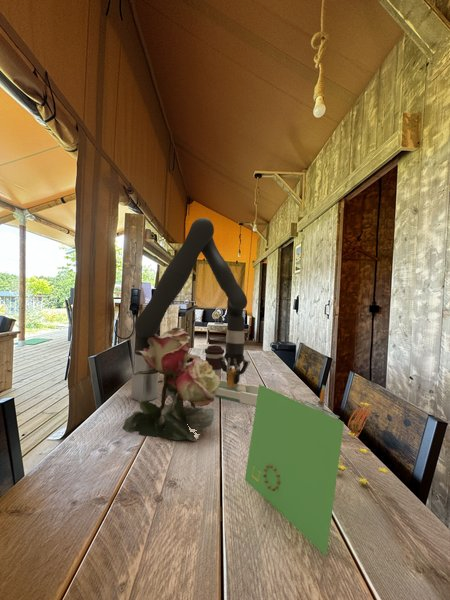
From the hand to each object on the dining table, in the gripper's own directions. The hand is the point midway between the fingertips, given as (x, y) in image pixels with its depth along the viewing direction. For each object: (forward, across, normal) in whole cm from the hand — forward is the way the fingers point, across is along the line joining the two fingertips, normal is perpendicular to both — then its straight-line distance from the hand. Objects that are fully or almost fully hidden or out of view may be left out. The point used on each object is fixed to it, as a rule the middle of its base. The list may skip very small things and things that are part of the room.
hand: (232, 382), depth 117 cm
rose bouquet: (+6, -6, -30) cm, 31 cm away
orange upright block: (+4, 0, 0) cm, 4 cm away
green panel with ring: (+6, +40, -42) cm, 59 cm away
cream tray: (+5, +2, 0) cm, 5 cm away
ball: (+2, +4, 0) cm, 4 cm away
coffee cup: (+5, -19, +20) cm, 28 cm away
